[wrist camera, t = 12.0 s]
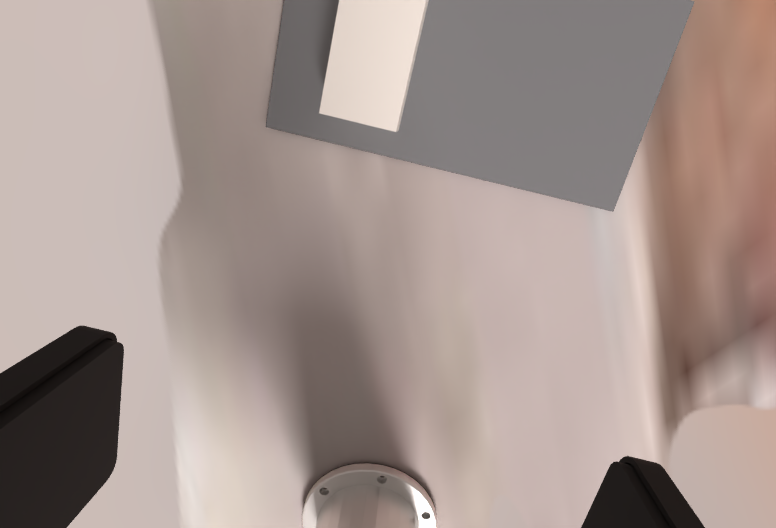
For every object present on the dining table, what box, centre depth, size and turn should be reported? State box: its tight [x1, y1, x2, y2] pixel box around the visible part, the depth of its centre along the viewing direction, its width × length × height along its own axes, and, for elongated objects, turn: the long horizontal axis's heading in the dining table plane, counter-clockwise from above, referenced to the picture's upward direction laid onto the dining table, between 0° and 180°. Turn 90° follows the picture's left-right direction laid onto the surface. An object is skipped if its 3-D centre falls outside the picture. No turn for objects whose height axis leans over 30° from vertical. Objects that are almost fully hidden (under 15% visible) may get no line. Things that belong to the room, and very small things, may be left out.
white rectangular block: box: [319, 0, 429, 132], centre depth 30 cm, size 5×10×4 cm, turn 167°
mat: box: [266, 0, 694, 212], centre depth 33 cm, size 14×26×1 cm, turn 77°
